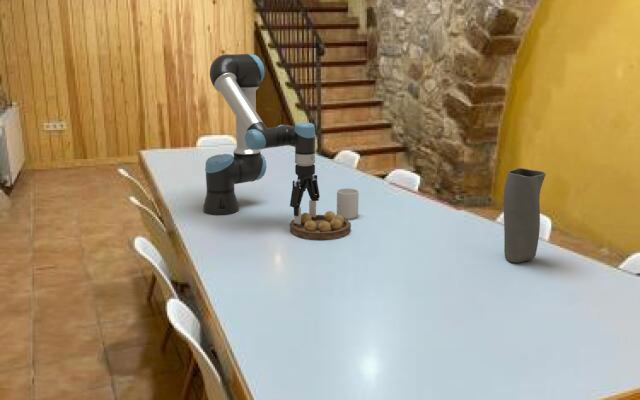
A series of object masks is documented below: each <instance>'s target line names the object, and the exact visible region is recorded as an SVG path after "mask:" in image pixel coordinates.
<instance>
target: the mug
mask: <svg viewBox="0 0 640 400" xmlns="http://www.w3.org/2000/svg"><path fill="white" fill-rule="evenodd" d="M359 195H360V194H359V190H358V189H356V188H351V187H350V188H348V187H347V188H339V189H337V190H336V215H341V216H342V217H343V218H344V219H346V220H348V221H349V220H355V219H356V218H357V217H358V216H359V200H360V199H359Z"/></svg>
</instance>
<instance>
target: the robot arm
mask: <svg viewBox="0 0 640 400" xmlns="http://www.w3.org/2000/svg"><path fill="white" fill-rule="evenodd" d="M264 78H265V66H264V63H263V61H262V60H261V58H260V57H259V56H258V55H256V54H251V53H250V54H248V53H239V54H236V53H235V54H229V53H228V54H221V55H219V56H218V57H216V58H215V59H214V60H213V61H212V63H211V65H210V68H209V79H210V81H211V85H212V87H213V88H214V89H215V91H217V92H219V93H221V95H222V97H223V99H224V100H225V102H226V103H227V104H228V106H229V108H230V110H231V111H232V112H233V114H234V115H235V130H236V131H235V132H236V133H235V134H236V136H235V137H236V148H235V149H234V150H233V155H232V154H229V153H223V154H215V155H212V156H210V157H208V158H207V159H206V160H205V168H204V170H205V180H206V181H205V183H206V193H205V194H206V196H205V198H204V203H203V207H202V208H203V213H206V214H208V215H212V216H215V215H217V216H221V215H222V216H223V215H231V214H234V213H237V212H239V210H240V205H239V202H238V199H237V196H236V193H235V185H236V184H237V185H238V184H243V183H244V184H245V183H249V182H251V183H252V182H255V181H258V180H261V179H262V178H263V177H264V176H265V174H266V171H267V161H266V157H265V155H263V154H262V153H261V150H263V149H264V150H265V149H272V148H279V147H288V146H289V147H295V148H294V149H295V150H294V163H295V167H294V169H295V170H294V171H295V175H297V179H296V180H293V181H292V182H291V183H292V189H291V196H290V202H289V207H291V208H293V220H294V223H296V224H301V215H302V207H301V203H302V200H303V196H304V192H306V191H307V193H308V195H309V198H310V199H309V201H308V202H309V203H308V204H309V205H308V207H309V208H308V210H309V211H308V214H310V215H311V217H316V215H317V202H319V201H320V191H319V184H318V183H319V182H318V175H317V174H316V165H315V163H316V127H315V125H314V123H312V122H311V123H310V122H298V123H296V124H295V125H294V126H293V125H289V124H280V125H278V126H275V127H274V126H273V127H267V125H266V124H265V123H264V122H263V120H262V119H261V117H260V115H259V113H257V101H256V98H257V96H256V92H257V90H258V89H259V88H260V83H261V82H262V81H263V80H264Z"/></svg>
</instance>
